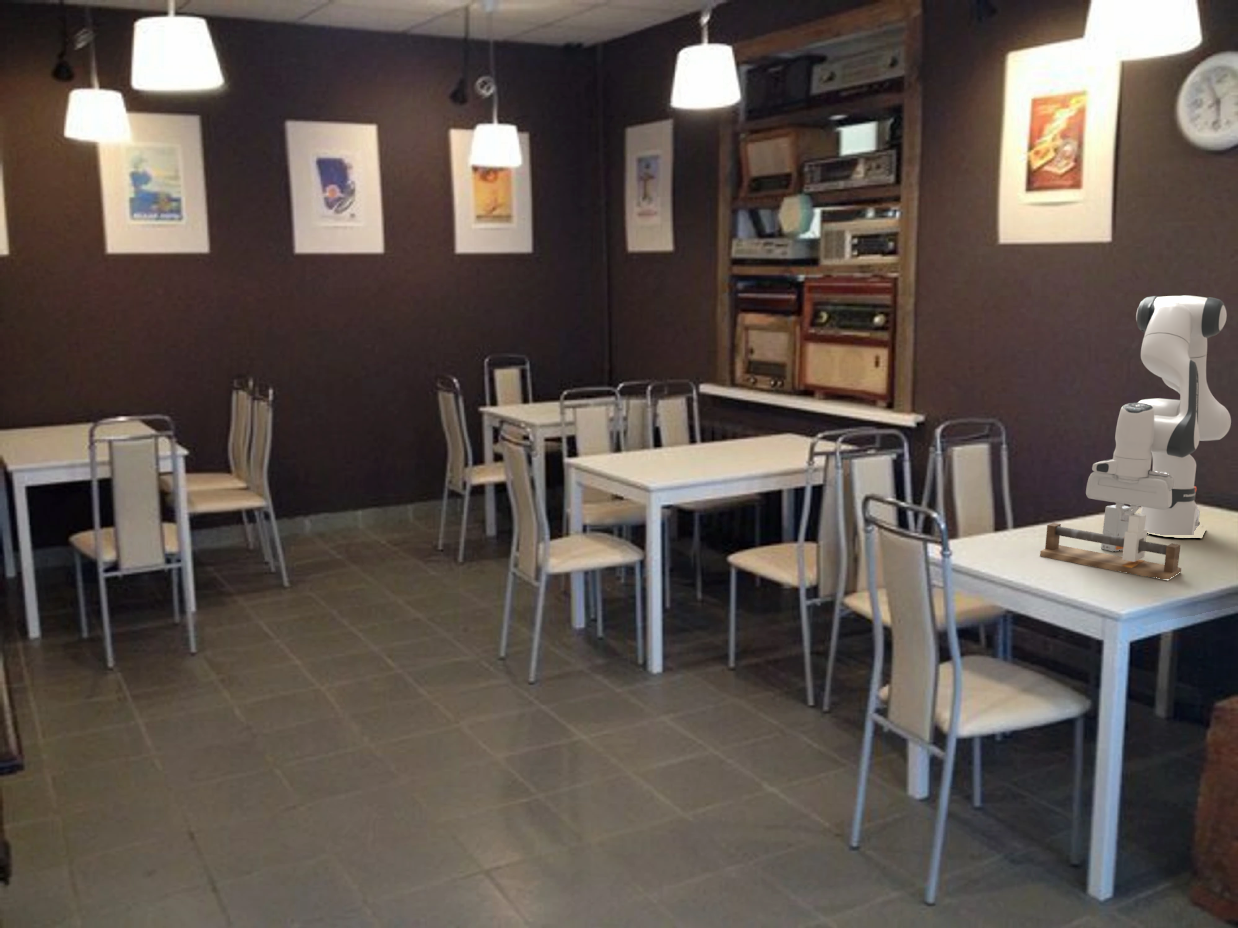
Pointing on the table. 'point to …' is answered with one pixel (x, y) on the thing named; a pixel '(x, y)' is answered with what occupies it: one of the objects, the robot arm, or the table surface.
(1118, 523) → the skincare box
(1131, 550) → the collar
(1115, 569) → the pipe stand
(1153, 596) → the table surface
